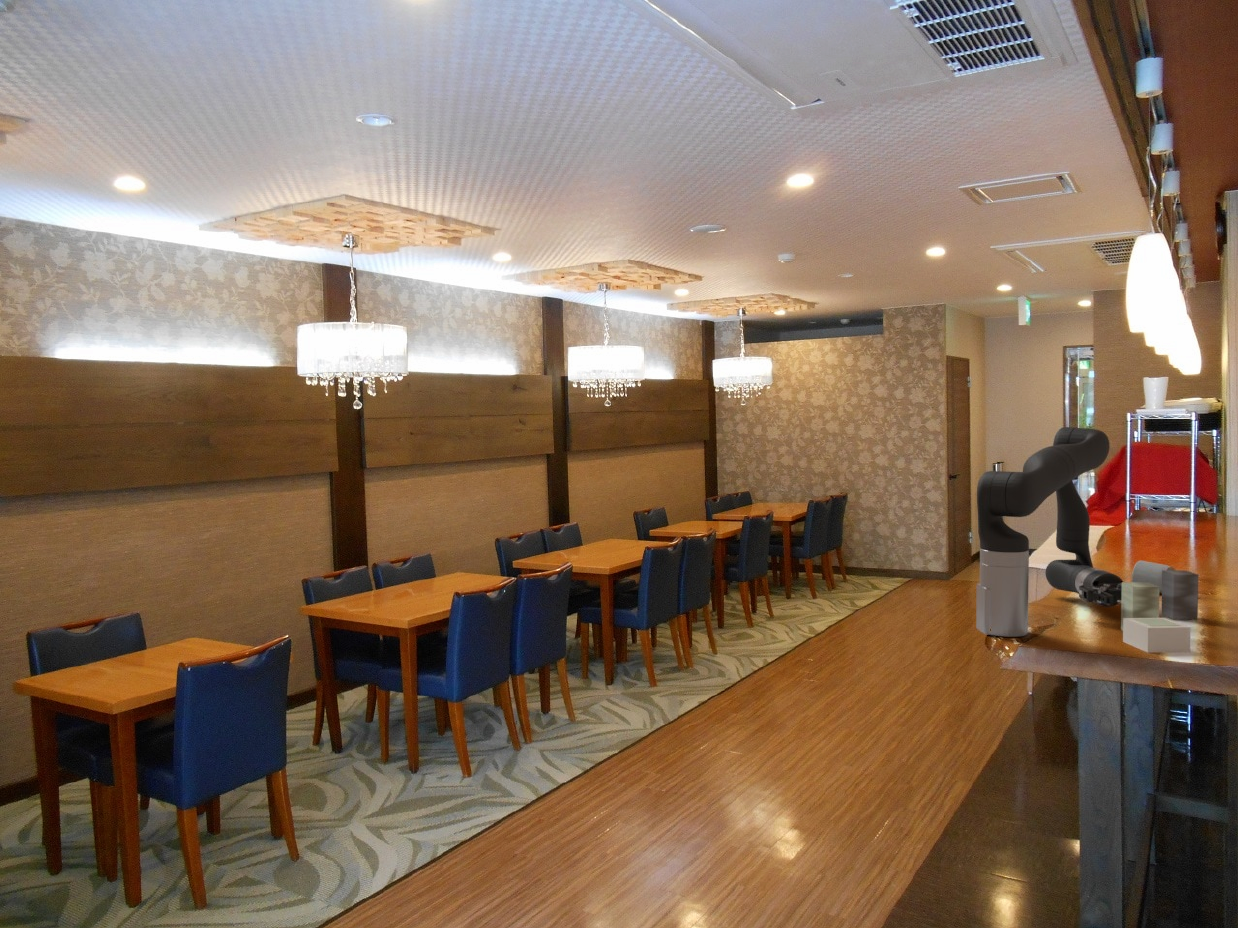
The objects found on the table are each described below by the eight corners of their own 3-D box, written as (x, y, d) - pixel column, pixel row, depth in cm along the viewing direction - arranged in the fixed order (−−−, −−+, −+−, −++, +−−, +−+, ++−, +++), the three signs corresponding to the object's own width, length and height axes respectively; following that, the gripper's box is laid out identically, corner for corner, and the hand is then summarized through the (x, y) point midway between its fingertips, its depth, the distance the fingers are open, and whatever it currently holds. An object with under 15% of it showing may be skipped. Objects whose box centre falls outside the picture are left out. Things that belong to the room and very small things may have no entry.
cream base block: (1147, 653, 165) (1148, 627, 165) (1122, 642, 173) (1123, 617, 173) (1190, 652, 165) (1190, 626, 165) (1163, 642, 173) (1163, 617, 173)
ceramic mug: (1166, 596, 215) (1167, 565, 215) (1130, 591, 222) (1131, 561, 222) (1183, 592, 222) (1184, 561, 222) (1148, 587, 228) (1149, 557, 228)
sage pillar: (1132, 635, 178) (1133, 586, 177) (1120, 629, 183) (1121, 582, 182) (1158, 636, 177) (1159, 586, 177) (1146, 630, 182) (1147, 582, 182)
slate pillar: (1173, 619, 191) (1173, 574, 191) (1161, 614, 196) (1162, 570, 196) (1197, 620, 191) (1198, 574, 190) (1185, 615, 196) (1186, 570, 195)
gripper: (1066, 569, 199) (1097, 582, 183) (1133, 570, 198) (1170, 583, 182) (1066, 602, 199) (1097, 618, 183) (1132, 603, 198) (1169, 619, 182)
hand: (1133, 601), depth 182 cm, fingers open, 8 cm apart
